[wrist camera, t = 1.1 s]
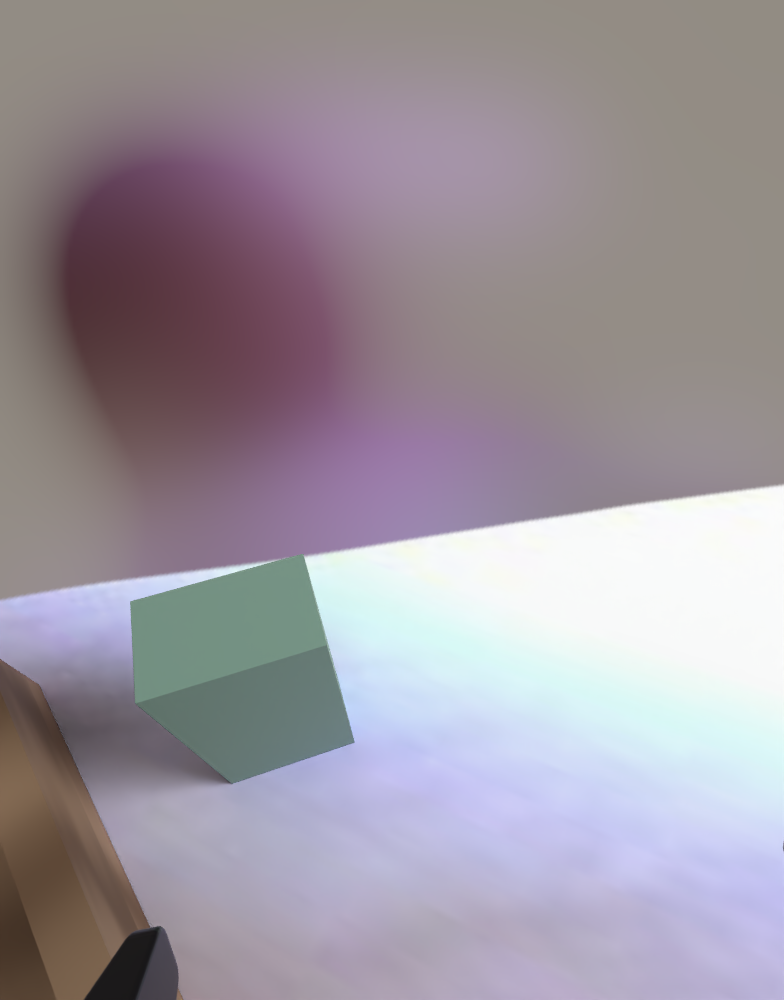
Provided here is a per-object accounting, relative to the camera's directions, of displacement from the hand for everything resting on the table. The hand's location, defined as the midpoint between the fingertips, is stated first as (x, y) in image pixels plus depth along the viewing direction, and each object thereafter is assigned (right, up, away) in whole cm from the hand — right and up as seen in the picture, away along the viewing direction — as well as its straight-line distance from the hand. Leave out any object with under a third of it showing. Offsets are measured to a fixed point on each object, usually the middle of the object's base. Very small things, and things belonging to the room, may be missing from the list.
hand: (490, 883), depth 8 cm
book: (-6, -4, +16) cm, 17 cm away
